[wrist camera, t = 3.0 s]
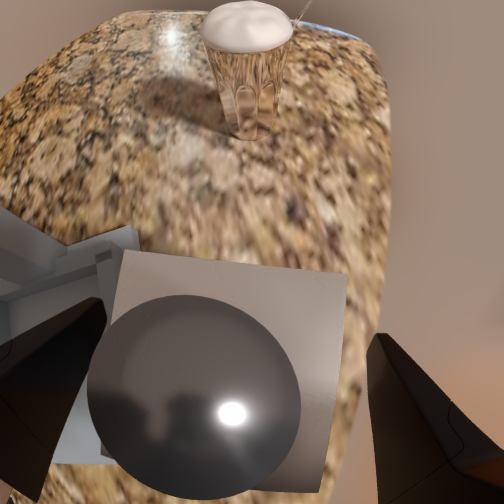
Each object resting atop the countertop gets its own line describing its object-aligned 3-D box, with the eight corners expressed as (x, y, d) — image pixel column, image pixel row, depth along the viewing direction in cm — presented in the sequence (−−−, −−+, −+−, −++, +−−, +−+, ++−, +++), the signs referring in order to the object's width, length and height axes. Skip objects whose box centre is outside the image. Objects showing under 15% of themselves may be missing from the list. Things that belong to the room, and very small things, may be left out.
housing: (286, 412, 15) (348, 561, 3) (183, 398, 15) (32, 493, 3) (298, 312, 16) (399, 230, 4) (196, 300, 16) (60, 198, 5)
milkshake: (296, 151, 19) (318, 19, 9) (212, 148, 19) (184, 18, 10) (295, 102, 20) (309, -18, 11) (221, 99, 20) (204, -20, 11)
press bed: (193, 449, 14) (123, 550, 4) (37, 456, 13) (-65, 489, 4) (137, 227, 18) (45, 126, 8) (2, 276, 17) (-99, 232, 7)
